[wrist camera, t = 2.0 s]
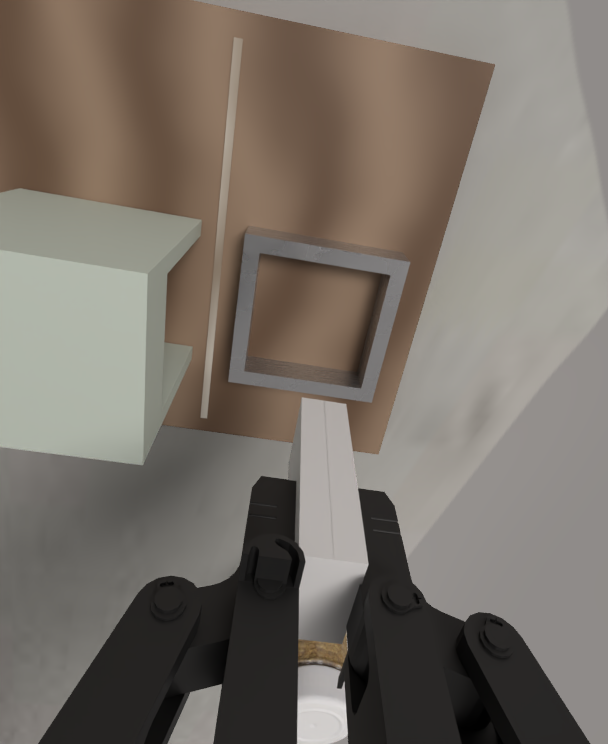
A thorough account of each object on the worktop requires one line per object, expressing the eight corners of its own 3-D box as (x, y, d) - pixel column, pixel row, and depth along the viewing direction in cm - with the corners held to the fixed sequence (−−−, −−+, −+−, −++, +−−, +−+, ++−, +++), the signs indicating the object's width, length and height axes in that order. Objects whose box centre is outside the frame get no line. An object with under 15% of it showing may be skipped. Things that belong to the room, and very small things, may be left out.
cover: (33, 335, 28) (-93, 435, 19) (19, 188, 24) (-144, 226, 15) (191, 358, 28) (142, 465, 20) (201, 219, 25) (147, 273, 16)
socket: (232, 365, 29) (228, 381, 27) (249, 225, 25) (245, 233, 23) (367, 385, 29) (371, 402, 28) (402, 252, 26) (410, 262, 24)
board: (-104, 374, 30) (-217, 444, 24) (-214, -79, 20) (-461, -176, 14) (375, 440, 33) (394, 521, 26) (483, 67, 23) (558, 45, 16)
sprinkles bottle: (276, 510, 36) (265, 703, 24) (338, 506, 36) (356, 699, 24) (281, 554, 38) (273, 752, 26) (339, 550, 38) (358, 748, 26)
